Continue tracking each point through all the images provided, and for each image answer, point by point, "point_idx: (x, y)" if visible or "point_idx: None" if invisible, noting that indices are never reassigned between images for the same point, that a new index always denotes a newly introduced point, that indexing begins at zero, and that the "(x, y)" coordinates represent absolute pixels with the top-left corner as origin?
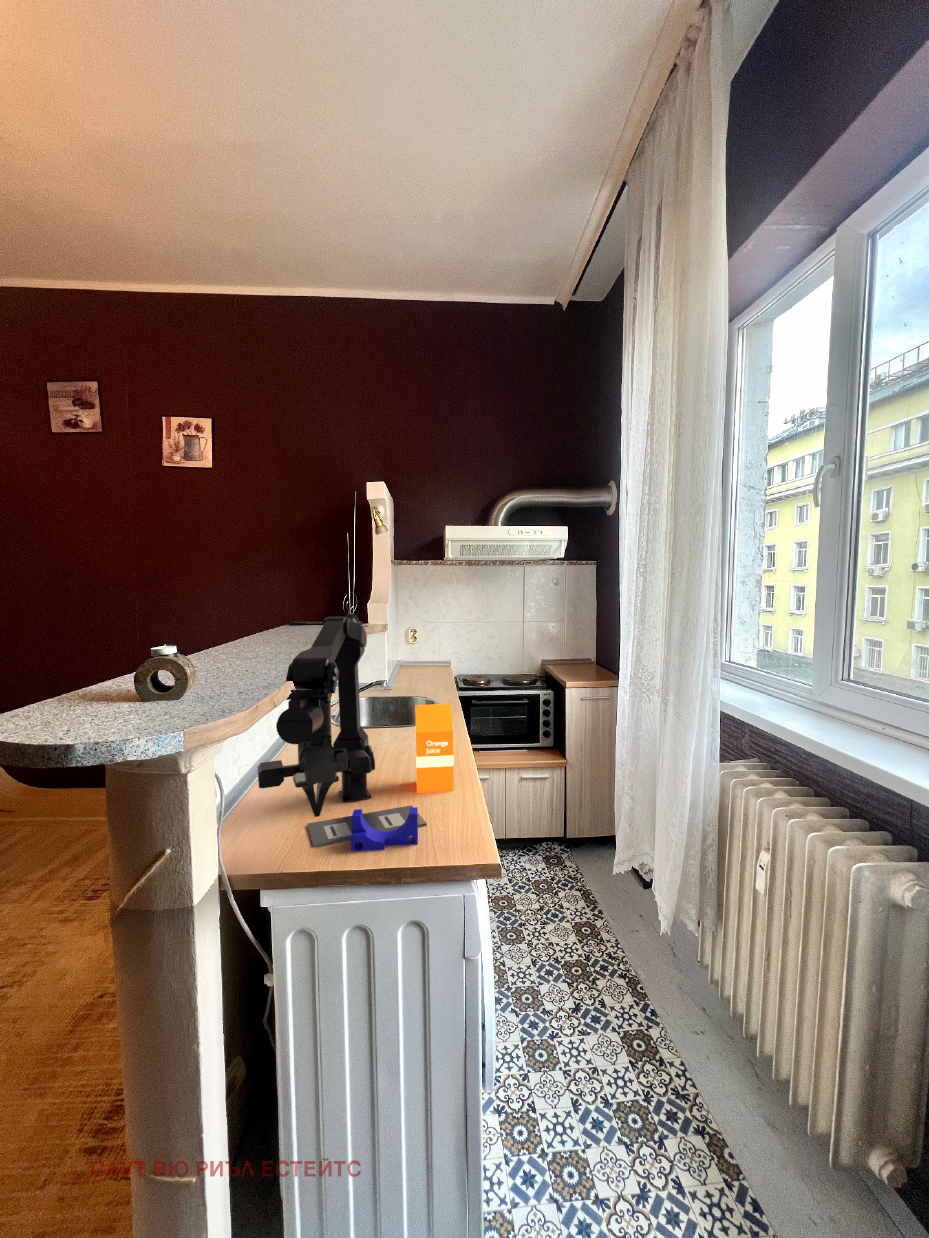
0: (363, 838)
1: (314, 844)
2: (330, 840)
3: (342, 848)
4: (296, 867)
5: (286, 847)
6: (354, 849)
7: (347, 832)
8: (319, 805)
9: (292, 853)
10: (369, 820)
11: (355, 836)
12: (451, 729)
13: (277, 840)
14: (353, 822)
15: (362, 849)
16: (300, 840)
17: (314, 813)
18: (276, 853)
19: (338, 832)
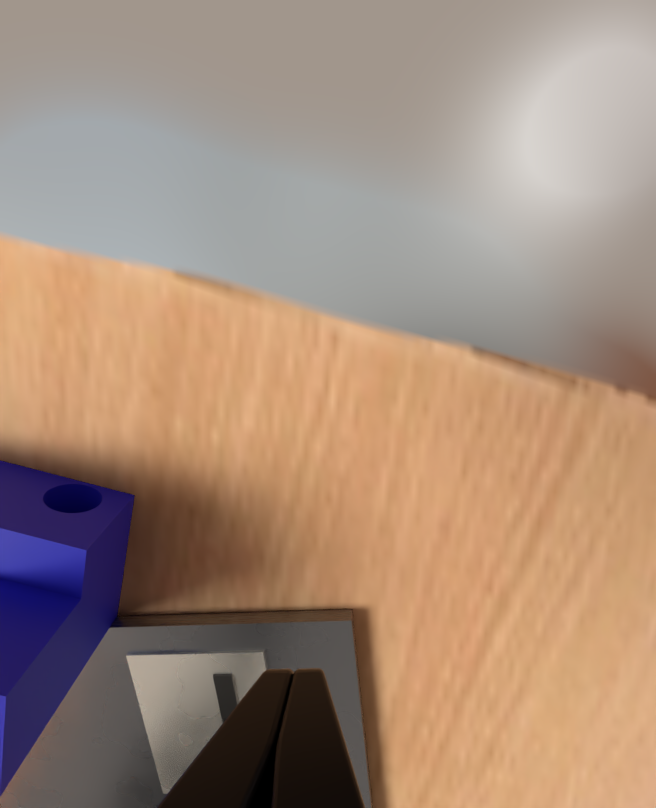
0: (12, 515)
1: (347, 621)
2: (251, 634)
3: (186, 541)
4: (470, 409)
5: (507, 660)
6: (111, 495)
7: (152, 686)
8: (223, 792)
9: (479, 583)
10: (34, 771)
11: (58, 538)
12: None
13: (549, 749)
14: (27, 647)
15: (63, 479)
16: (422, 707)
17: (320, 700)
18: (571, 614)
19: (203, 702)
